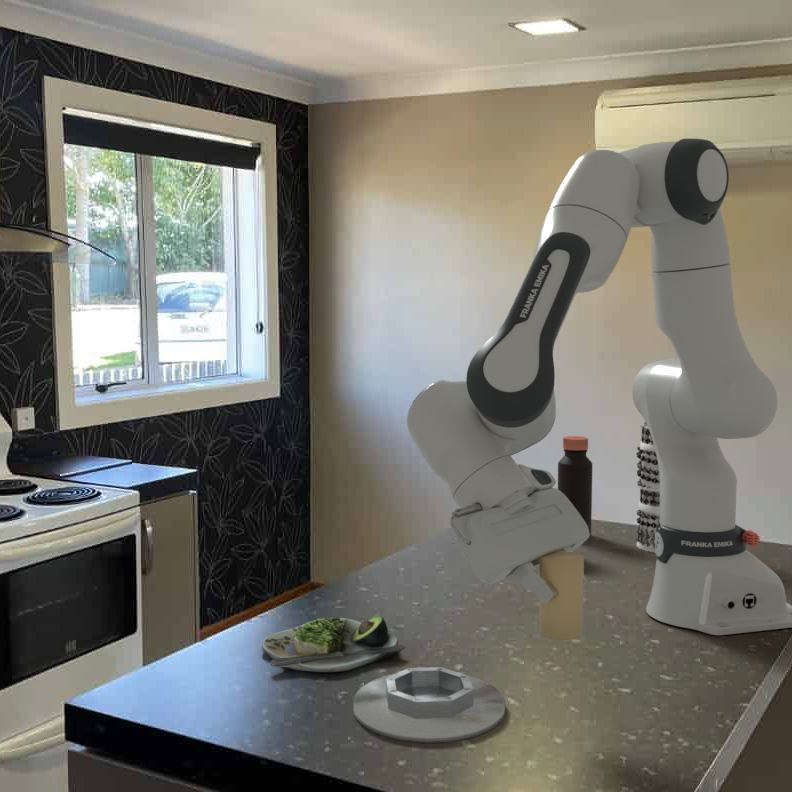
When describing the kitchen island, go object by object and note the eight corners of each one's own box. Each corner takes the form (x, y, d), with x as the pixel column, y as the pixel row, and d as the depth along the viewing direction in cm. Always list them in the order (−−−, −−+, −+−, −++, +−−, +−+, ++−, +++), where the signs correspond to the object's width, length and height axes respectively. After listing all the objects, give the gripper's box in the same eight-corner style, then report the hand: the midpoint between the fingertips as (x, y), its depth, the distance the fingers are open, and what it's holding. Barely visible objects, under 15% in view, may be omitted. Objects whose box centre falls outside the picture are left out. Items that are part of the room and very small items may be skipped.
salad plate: (310, 695, 121) (309, 659, 121) (229, 656, 134) (228, 624, 134) (421, 655, 134) (421, 623, 134) (337, 623, 147) (337, 594, 147)
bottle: (556, 539, 195) (558, 440, 193) (557, 531, 202) (558, 435, 199) (591, 540, 194) (593, 440, 192) (590, 532, 200) (592, 435, 198)
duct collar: (490, 676, 126) (491, 653, 126) (518, 739, 108) (518, 713, 108) (351, 680, 125) (351, 657, 125) (356, 745, 107) (355, 719, 107)
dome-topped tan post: (576, 624, 116) (577, 550, 115) (587, 639, 111) (589, 562, 110) (535, 625, 116) (535, 551, 115) (544, 640, 111) (545, 563, 110)
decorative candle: (624, 547, 189) (627, 418, 186) (651, 538, 195) (654, 414, 193) (666, 556, 182) (669, 423, 180) (692, 547, 189) (696, 418, 186)
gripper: (459, 496, 108) (533, 599, 103) (557, 469, 124) (625, 558, 119) (428, 529, 112) (498, 631, 107) (527, 499, 127) (592, 587, 122)
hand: (566, 592), depth 113 cm, fingers closed on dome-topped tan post, 5 cm apart
